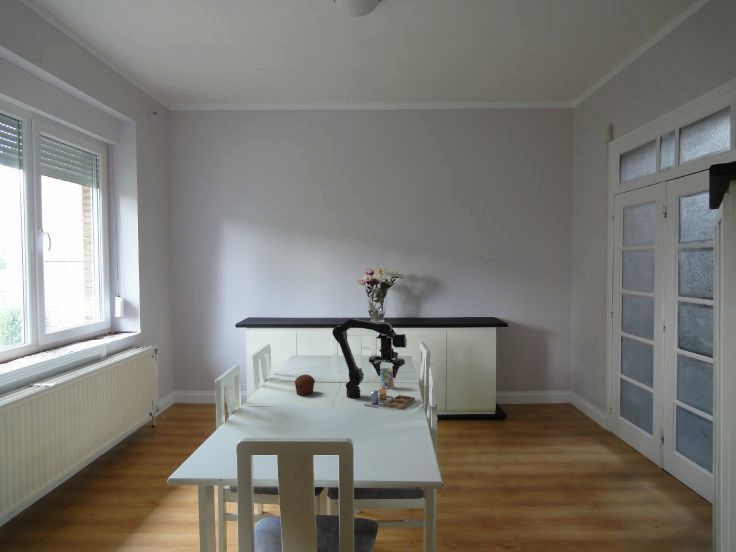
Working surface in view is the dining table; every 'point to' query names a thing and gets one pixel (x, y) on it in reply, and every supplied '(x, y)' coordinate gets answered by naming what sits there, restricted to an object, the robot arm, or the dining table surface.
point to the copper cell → (382, 393)
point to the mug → (387, 378)
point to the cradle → (379, 402)
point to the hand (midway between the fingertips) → (386, 377)
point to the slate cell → (374, 397)
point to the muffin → (304, 385)
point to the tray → (400, 402)
